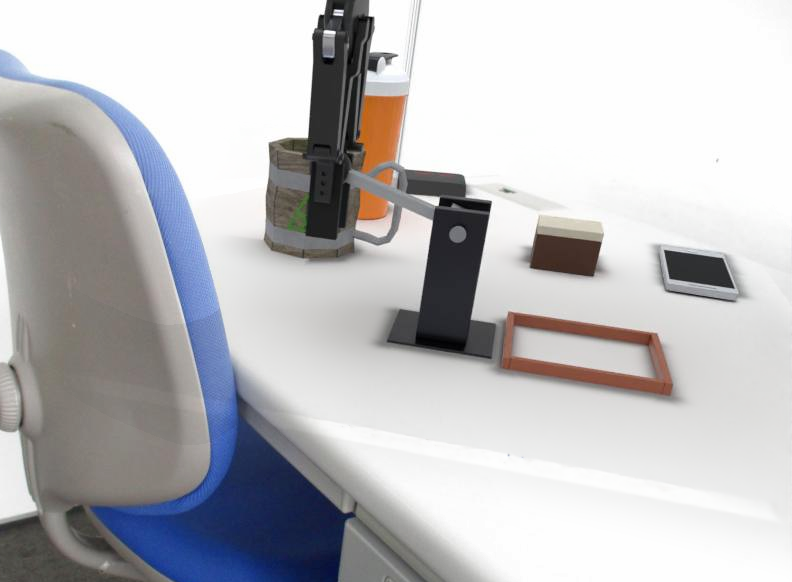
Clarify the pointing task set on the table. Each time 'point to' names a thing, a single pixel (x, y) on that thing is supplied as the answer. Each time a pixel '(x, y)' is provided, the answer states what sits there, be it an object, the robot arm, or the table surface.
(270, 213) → the mug
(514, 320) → the reddish-brown rectangular frame
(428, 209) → the lever
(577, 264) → the cake slice
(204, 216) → the table surface
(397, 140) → the shaker bottle
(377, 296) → the table surface
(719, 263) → the smartphone
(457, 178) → the usb drive
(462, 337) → the lever stand
